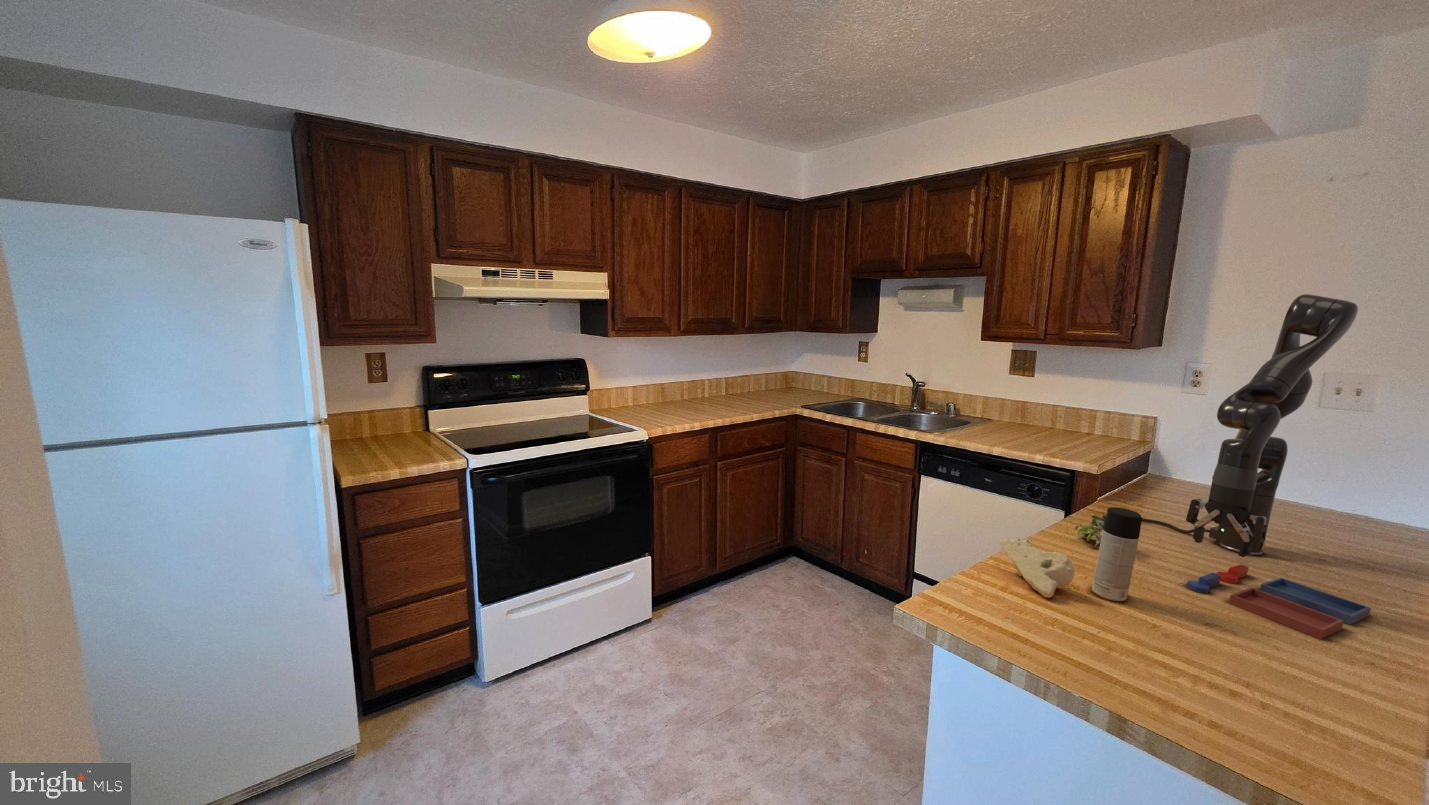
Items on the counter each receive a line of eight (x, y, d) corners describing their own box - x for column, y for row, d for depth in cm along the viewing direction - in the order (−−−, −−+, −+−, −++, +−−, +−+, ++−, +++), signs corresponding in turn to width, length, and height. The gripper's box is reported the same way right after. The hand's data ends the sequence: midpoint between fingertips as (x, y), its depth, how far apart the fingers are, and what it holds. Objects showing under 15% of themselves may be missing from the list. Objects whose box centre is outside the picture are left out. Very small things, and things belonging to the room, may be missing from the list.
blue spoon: (1203, 594, 131) (1205, 584, 131) (1182, 586, 135) (1184, 577, 134) (1225, 587, 136) (1227, 577, 136) (1205, 579, 139) (1207, 570, 139)
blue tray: (1259, 591, 134) (1261, 584, 134) (1278, 584, 139) (1280, 577, 139) (1350, 625, 121) (1352, 616, 121) (1368, 616, 125) (1371, 607, 125)
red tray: (1228, 603, 128) (1230, 594, 127) (1249, 595, 132) (1251, 587, 132) (1321, 639, 114) (1323, 630, 114) (1341, 629, 119) (1343, 620, 119)
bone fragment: (1080, 612, 124) (1078, 552, 133) (1072, 595, 120) (1070, 534, 129) (1005, 607, 133) (1007, 551, 142) (996, 591, 130) (999, 535, 139)
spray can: (1123, 592, 130) (1138, 510, 127) (1130, 605, 124) (1147, 519, 121) (1089, 585, 133) (1103, 504, 129) (1094, 597, 127) (1110, 513, 123)
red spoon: (1232, 584, 137) (1234, 575, 137) (1212, 577, 141) (1214, 568, 141) (1252, 578, 142) (1254, 569, 142) (1233, 571, 146) (1235, 562, 145)
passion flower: (1110, 564, 158) (1147, 541, 151) (1087, 562, 154) (1124, 538, 147) (1084, 530, 166) (1118, 506, 159) (1061, 527, 162) (1095, 502, 154)
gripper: (1280, 491, 128) (1265, 559, 130) (1204, 474, 140) (1192, 536, 143) (1265, 494, 124) (1250, 563, 127) (1189, 476, 137) (1176, 539, 139)
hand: (1219, 549), depth 135 cm, fingers open, 8 cm apart
